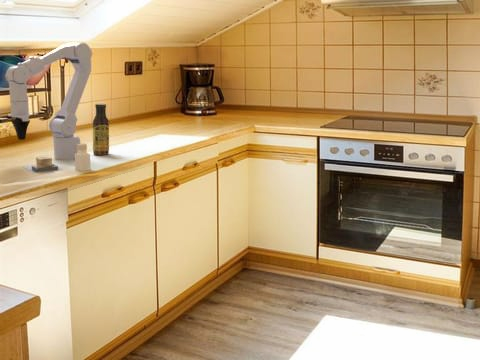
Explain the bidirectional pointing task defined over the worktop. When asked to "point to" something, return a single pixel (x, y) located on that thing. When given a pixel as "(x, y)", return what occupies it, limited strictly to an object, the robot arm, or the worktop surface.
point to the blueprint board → (39, 170)
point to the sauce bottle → (100, 131)
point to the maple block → (43, 162)
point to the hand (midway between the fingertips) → (21, 139)
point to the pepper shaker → (82, 158)
